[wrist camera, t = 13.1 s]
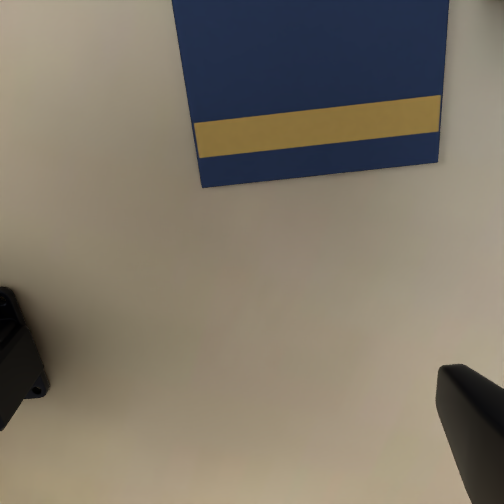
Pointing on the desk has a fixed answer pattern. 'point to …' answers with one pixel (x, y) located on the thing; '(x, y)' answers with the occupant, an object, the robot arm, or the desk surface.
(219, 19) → the book
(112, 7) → the desk surface
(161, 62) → the desk surface
